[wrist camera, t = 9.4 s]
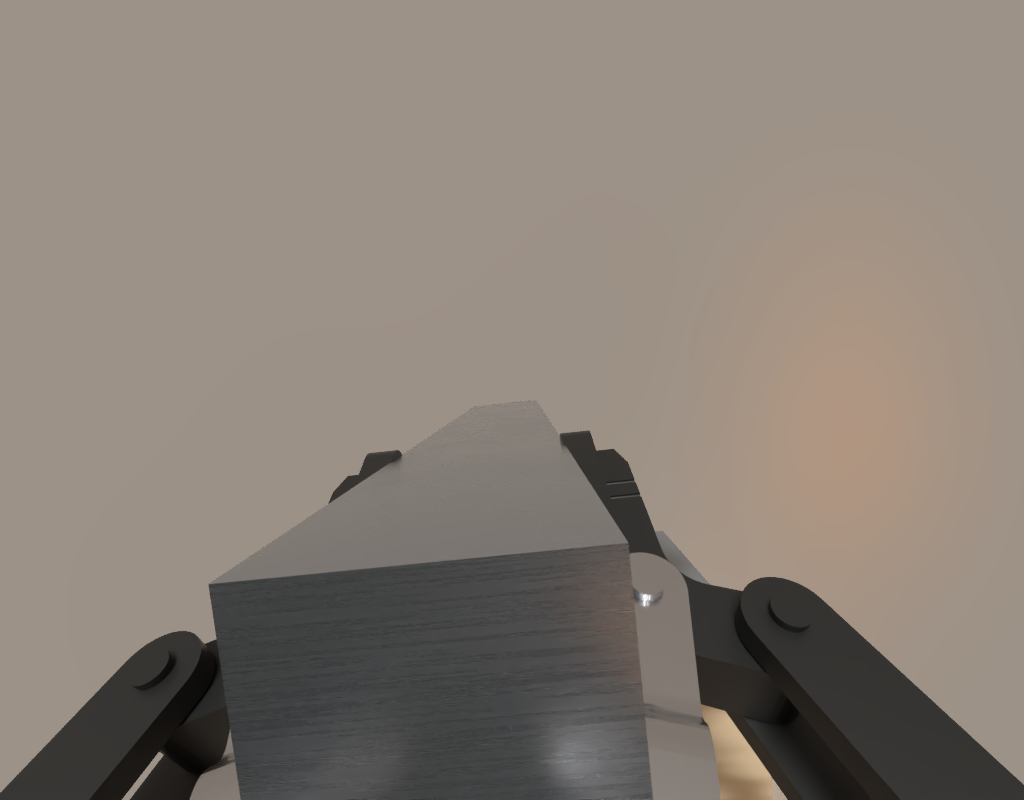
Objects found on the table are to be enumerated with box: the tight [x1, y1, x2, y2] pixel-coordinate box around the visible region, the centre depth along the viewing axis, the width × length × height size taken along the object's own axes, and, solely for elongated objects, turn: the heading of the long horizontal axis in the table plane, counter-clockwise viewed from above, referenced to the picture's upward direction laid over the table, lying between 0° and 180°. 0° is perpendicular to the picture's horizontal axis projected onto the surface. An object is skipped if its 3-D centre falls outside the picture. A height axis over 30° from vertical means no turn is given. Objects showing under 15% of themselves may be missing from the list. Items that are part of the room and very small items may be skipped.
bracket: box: [655, 531, 773, 800], centre depth 31 cm, size 16×15×32 cm
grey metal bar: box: [209, 400, 653, 800], centre depth 16 cm, size 4×24×4 cm, turn 179°
